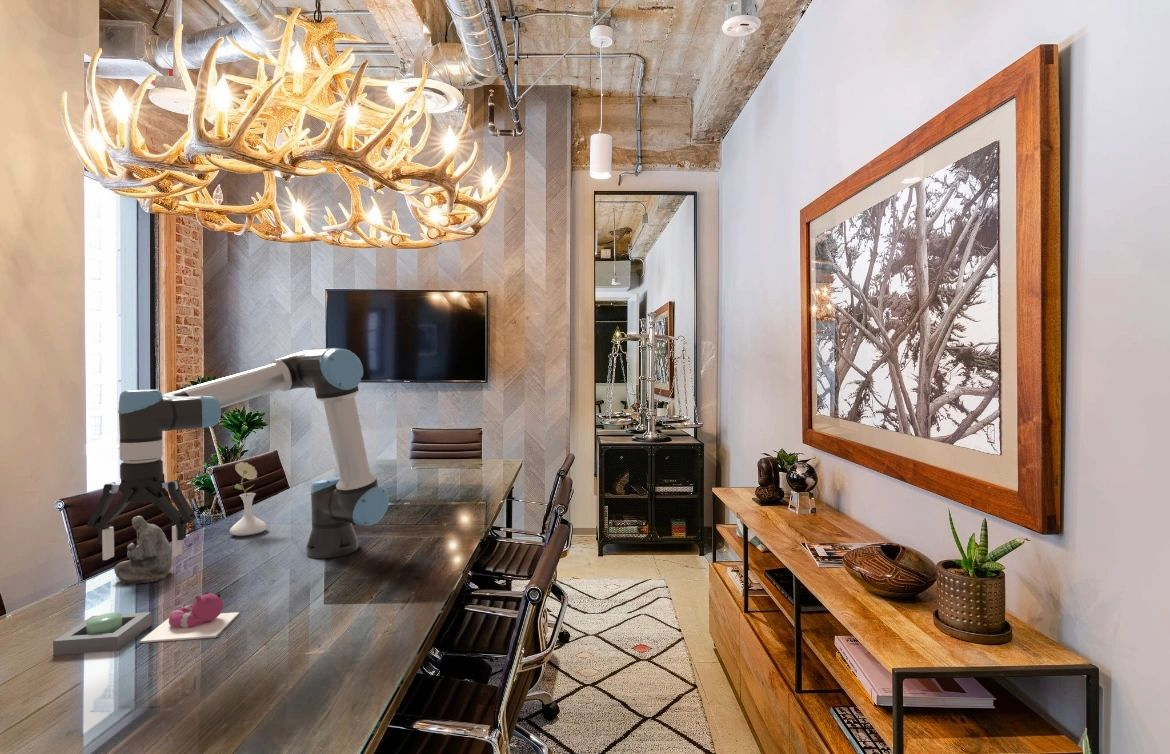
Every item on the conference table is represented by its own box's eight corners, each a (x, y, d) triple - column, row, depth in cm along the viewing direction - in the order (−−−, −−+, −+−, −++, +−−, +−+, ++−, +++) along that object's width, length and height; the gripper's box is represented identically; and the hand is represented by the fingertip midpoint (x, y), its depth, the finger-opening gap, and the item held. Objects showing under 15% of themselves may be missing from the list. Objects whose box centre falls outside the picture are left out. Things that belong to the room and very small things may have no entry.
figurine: (107, 581, 161) (104, 516, 161) (152, 567, 172) (150, 506, 172) (138, 588, 156) (136, 521, 156) (182, 573, 167) (180, 510, 167)
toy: (236, 609, 142) (225, 584, 136) (213, 644, 135) (201, 619, 129) (190, 603, 142) (178, 578, 136) (166, 637, 135) (151, 612, 129)
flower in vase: (273, 531, 207) (272, 461, 206) (240, 540, 197) (238, 466, 196) (253, 526, 214) (252, 458, 213) (220, 534, 204) (218, 463, 203)
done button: (128, 624, 131) (128, 611, 131) (111, 637, 125) (110, 623, 125) (98, 626, 130) (98, 613, 130) (79, 639, 124) (79, 625, 124)
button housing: (151, 624, 134) (150, 612, 134) (118, 650, 123) (117, 636, 122) (92, 629, 133) (92, 615, 132) (53, 655, 121) (52, 641, 121)
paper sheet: (239, 613, 140) (239, 612, 140) (215, 637, 128) (215, 635, 128) (170, 618, 138) (170, 616, 138) (139, 642, 126) (139, 641, 126)
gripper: (211, 456, 135) (213, 547, 135) (88, 459, 130) (90, 554, 131) (195, 461, 127) (197, 558, 128) (64, 464, 123) (66, 565, 123)
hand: (143, 556), depth 129 cm, fingers open, 13 cm apart
